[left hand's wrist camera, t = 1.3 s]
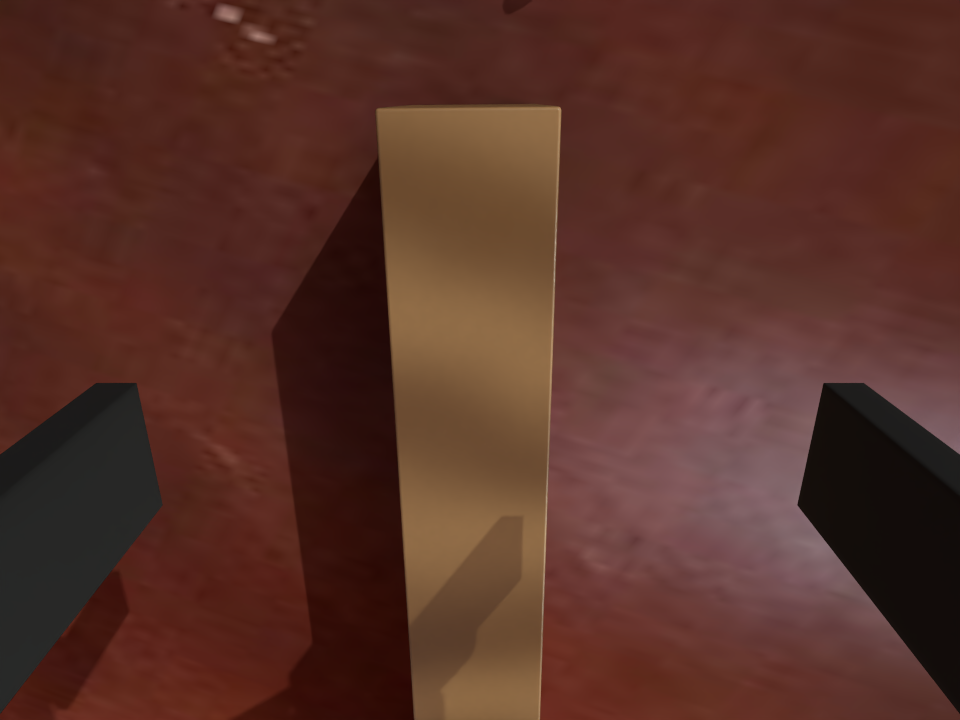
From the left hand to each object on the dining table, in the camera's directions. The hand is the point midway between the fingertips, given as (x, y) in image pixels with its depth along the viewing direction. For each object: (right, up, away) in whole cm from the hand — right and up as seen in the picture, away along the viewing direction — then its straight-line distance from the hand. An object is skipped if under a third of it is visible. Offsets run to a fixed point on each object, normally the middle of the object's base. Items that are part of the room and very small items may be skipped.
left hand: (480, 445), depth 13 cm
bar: (0, -19, +25) cm, 31 cm away
